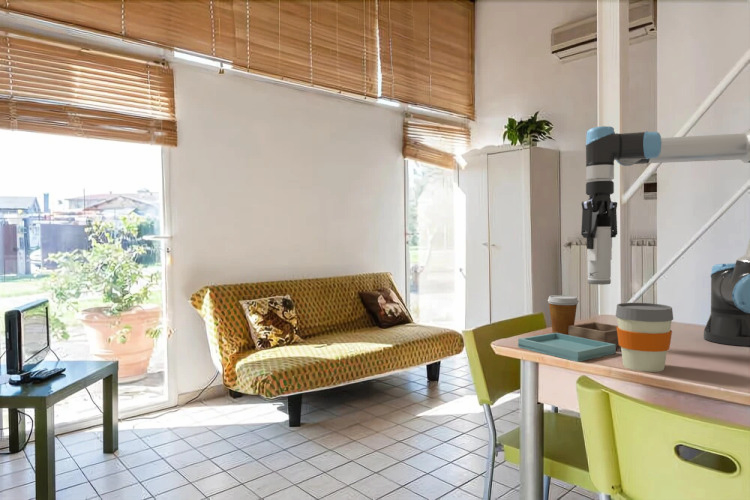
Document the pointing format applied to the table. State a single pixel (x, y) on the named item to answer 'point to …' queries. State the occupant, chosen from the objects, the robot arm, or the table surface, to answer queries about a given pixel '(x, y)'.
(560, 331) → the disposable coffee cup
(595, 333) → the brown wooden crate
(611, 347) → the tray
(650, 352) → the reusable coffee cup
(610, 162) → the robot arm
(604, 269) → the travel mug
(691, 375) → the table surface
